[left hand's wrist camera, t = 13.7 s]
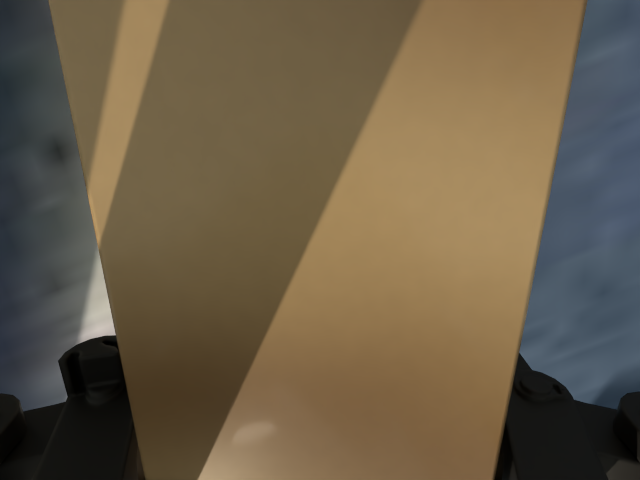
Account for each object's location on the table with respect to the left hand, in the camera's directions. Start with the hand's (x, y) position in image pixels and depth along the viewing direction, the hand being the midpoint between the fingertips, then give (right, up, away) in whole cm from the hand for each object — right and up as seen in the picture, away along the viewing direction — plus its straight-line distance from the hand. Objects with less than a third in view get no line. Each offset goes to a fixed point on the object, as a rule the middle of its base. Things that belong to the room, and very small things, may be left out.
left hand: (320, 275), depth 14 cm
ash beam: (0, +13, -5) cm, 14 cm away
